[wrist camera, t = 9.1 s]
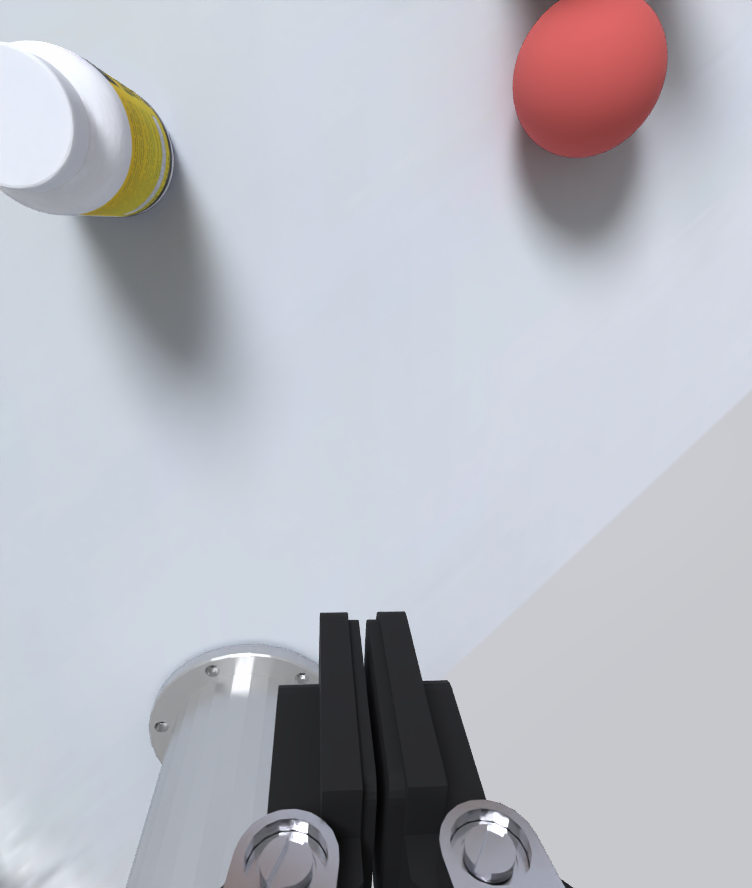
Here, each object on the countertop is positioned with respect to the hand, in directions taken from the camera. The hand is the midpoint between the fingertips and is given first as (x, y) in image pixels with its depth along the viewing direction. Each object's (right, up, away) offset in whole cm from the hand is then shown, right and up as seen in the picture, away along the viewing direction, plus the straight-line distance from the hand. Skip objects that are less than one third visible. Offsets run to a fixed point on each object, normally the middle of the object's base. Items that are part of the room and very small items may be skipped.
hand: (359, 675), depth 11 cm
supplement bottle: (-12, +18, +15) cm, 26 cm away
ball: (+9, +20, +13) cm, 25 cm away
